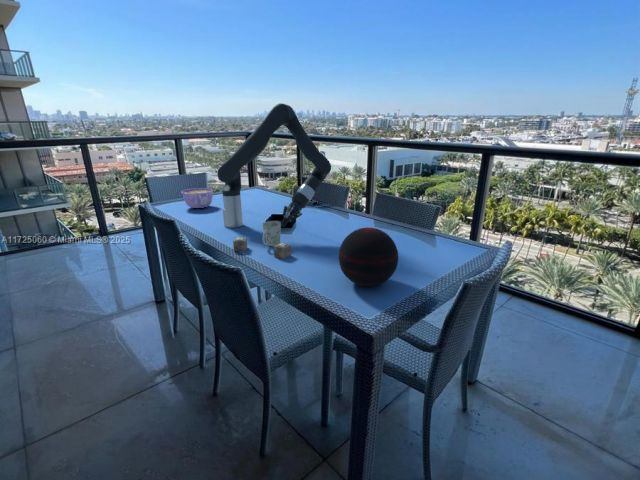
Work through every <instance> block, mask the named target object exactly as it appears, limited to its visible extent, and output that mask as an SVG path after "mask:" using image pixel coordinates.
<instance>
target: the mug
mask: <svg viewBox="0 0 640 480" xmlns="http://www.w3.org/2000/svg"><path fill="white" fill-rule="evenodd" d="M261 225H262V231H263V234H262V243H263V245H265V246H268V247H274V246H275V245H277V244H279V243H281V235H282V234H281V231H282V229H281V228H282V226H281V221H279V220H269V221H265V222H263V223H262V224H261Z"/></svg>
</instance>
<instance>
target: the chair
mask: <svg viewBox="0 0 640 480" xmlns="http://www.w3.org/2000/svg"><path fill="white" fill-rule="evenodd" d="M311 173H312V172H307V173H302V175H301V185H300V186H299V185H298V186H297V185H294V186H293V187H292V190H291V191H292V193H291V195H292V197H293V196H294V195H295V189H296V190H298V189H299V188H300V187H301V186H302V184H303V183H304V182H305V180H306V179H307V178H308V177H305V176H310V175H311ZM311 200H312V201H311V202H312V203H308V204H307V205H309V206H311V205H310V204H313V203H314V202H313V201H315V200H314V199H311Z"/></svg>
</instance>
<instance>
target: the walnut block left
mask: <svg viewBox="0 0 640 480" xmlns="http://www.w3.org/2000/svg"><path fill="white" fill-rule="evenodd" d="M232 244H233V252H234V253H236V252H235V251H246V252H247V250H248V239H247V237H246V236H245V237H244V236H243V237H242V236H241V237H240V236H239V237H234V239H233V241H232ZM246 249H247V250H246Z"/></svg>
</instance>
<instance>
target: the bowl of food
mask: <svg viewBox="0 0 640 480" xmlns="http://www.w3.org/2000/svg"><path fill="white" fill-rule="evenodd" d="M181 194H182V197H183V200H184V202H185V204H186V205H187V207H190V208H192V209H193V208H204V207H206V208H207V207H208V206H210V205H211V204H212V203H213V197H214V189H213V188H209V187H194V188H188V189H183V190H181ZM204 209H205V208H204Z"/></svg>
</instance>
